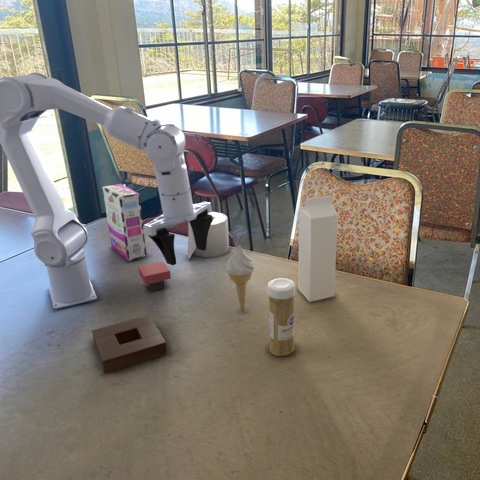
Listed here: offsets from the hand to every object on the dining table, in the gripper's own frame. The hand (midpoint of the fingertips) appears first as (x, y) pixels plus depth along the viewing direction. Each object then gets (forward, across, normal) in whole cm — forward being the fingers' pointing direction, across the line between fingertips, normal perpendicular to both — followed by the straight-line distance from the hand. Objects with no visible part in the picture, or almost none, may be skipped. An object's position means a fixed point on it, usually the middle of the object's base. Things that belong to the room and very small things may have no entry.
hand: (187, 256), depth 96 cm
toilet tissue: (+10, +18, +17) cm, 27 cm away
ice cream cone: (+12, +3, -10) cm, 16 cm away
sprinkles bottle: (+12, -1, -25) cm, 28 cm away
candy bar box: (+9, +6, +32) cm, 33 cm away
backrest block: (+10, -18, -3) cm, 21 cm away
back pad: (+10, -1, +12) cm, 15 cm away
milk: (+13, +18, -17) cm, 28 cm away
